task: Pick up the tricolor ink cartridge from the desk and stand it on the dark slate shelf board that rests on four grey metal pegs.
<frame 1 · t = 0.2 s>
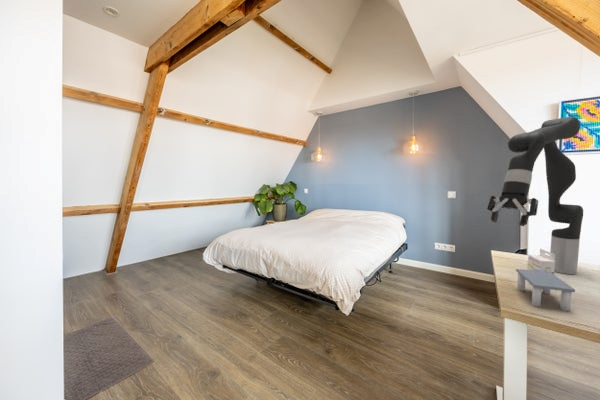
hand: (507, 223, 90), 31 cm above the table, tool tilted 20°, fingers open, 8 cm apart
ink cartridge box: (539, 282, 107), on the table
peg shelf: (541, 298, 94), on the table
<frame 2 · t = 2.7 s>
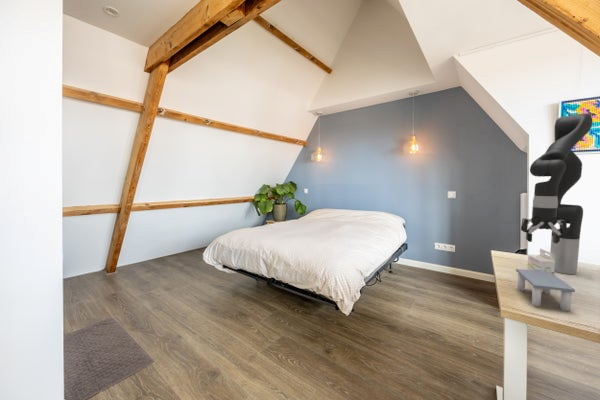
hand: (542, 242, 105), 19 cm above the table, tool pointing down, fingers open, 8 cm apart
nothing on the table moved.
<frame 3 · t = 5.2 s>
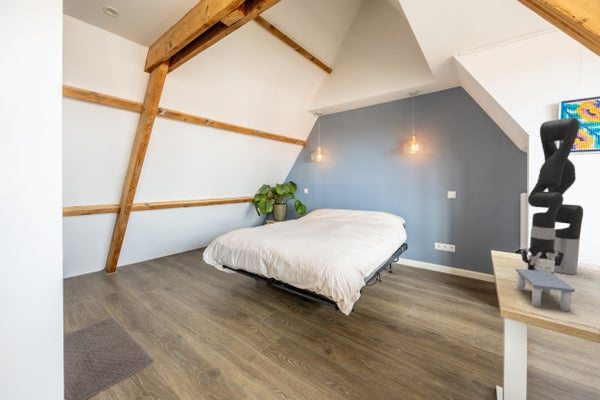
hand: (540, 272, 106), 5 cm above the table, tool pointing down, fingers closed on ink cartridge box, 5 cm apart
ink cartridge box: (539, 282, 107), on the table, touching gripper
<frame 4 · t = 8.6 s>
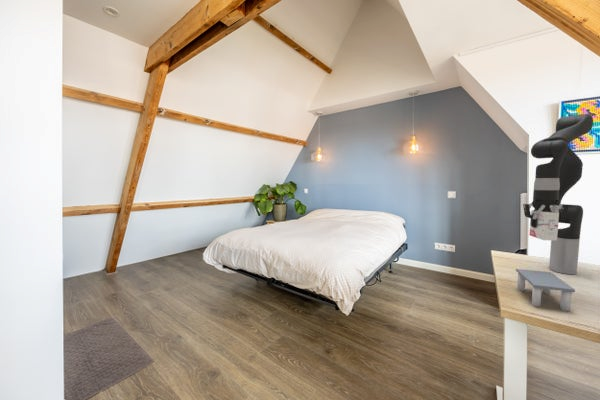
hand: (543, 227, 101), 26 cm above the table, tool pointing down, fingers closed on ink cartridge box, 5 cm apart
ink cartridge box: (542, 238, 102), point 21 cm above the table, touching gripper
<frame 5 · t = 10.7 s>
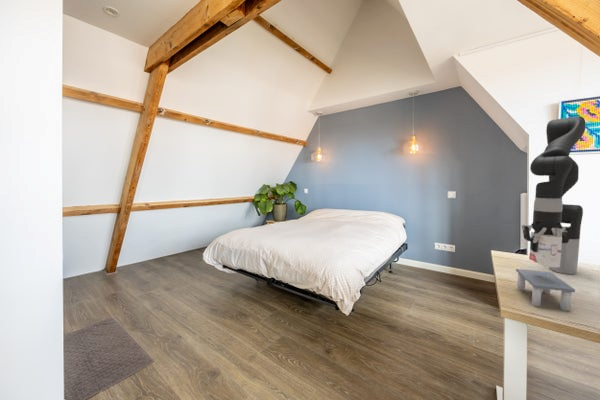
hand: (544, 252, 92), 19 cm above the table, tool pointing down, fingers closed on ink cartridge box, 5 cm apart
ink cartridge box: (543, 263, 92), point 14 cm above the table, touching gripper
when the fingers open (14 cm above the table, at t = 12.4 s): ink cartridge box drops 1 cm, resting on peg shelf.
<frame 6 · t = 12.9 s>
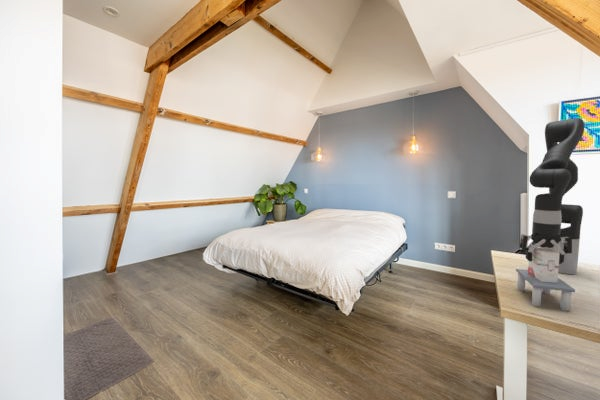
hand: (543, 262, 92), 15 cm above the table, tool pointing down, fingers open, 8 cm apart
ink cartridge box: (541, 278, 93), point 8 cm above the table, touching peg shelf
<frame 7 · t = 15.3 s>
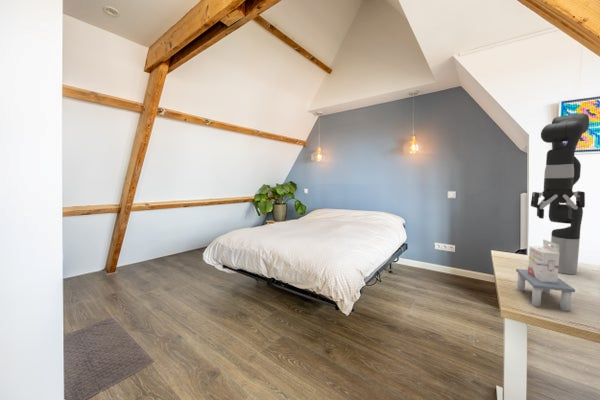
hand: (555, 218, 91), 32 cm above the table, tool pointing down, fingers open, 8 cm apart
nothing on the table moved.
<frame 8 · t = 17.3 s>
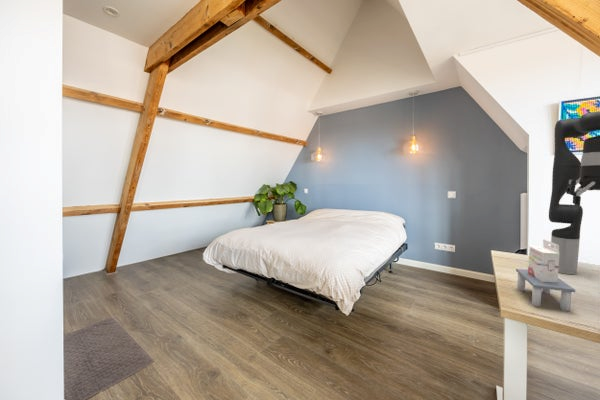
hand: (592, 205, 93), 36 cm above the table, tool pointing down, fingers open, 8 cm apart
nothing on the table moved.
at the end: ink cartridge box inside the target area on the peg shelf (0.2 cm from its centre), point 8.3 cm above the peg shelf's base; ink cartridge box tilted 0°; the gripper is holding nothing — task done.
